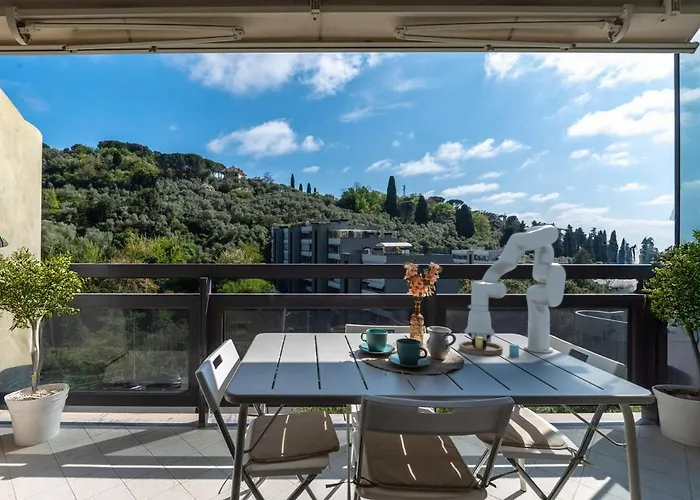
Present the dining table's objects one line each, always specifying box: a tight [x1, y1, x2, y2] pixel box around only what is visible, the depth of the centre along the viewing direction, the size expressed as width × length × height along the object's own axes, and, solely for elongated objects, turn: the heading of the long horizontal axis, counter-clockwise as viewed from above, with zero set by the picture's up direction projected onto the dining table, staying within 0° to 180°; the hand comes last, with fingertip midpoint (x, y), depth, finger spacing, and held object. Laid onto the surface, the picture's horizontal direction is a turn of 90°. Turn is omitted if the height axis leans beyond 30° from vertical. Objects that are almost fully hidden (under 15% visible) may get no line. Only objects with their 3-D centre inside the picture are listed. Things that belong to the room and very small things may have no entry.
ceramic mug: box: [475, 332, 492, 343], centre depth 214 cm, size 11×8×8 cm
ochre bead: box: [475, 337, 484, 349], centre depth 192 cm, size 4×4×5 cm
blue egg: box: [508, 343, 520, 358], centre depth 188 cm, size 4×4×5 cm
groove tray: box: [458, 340, 504, 357], centre depth 197 cm, size 19×19×2 cm
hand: (479, 347), depth 192 cm, fingers closed on ochre bead, 3 cm apart
